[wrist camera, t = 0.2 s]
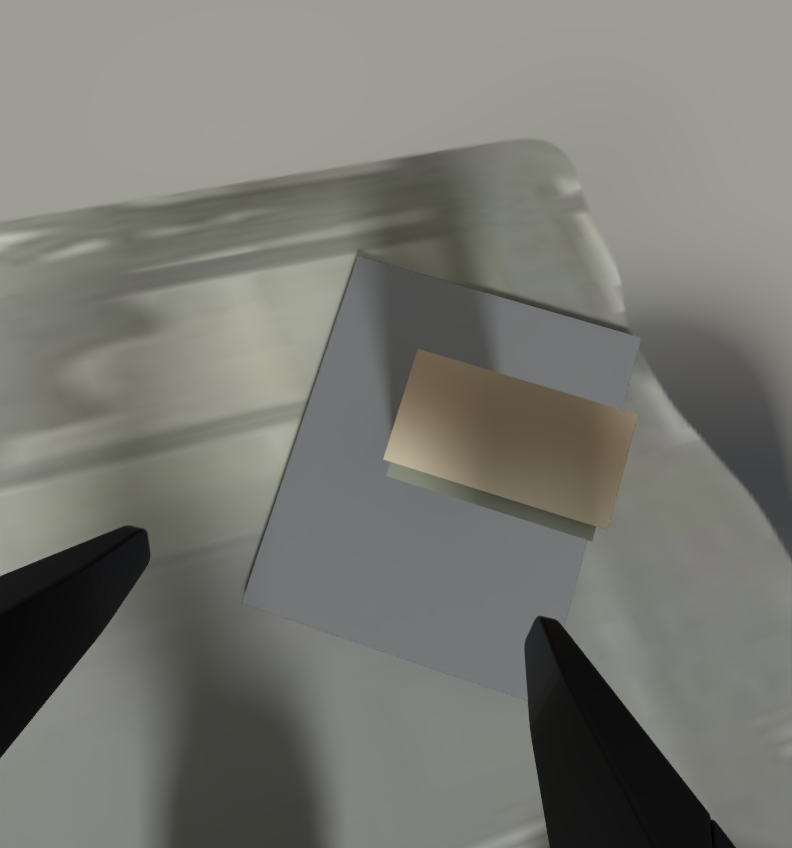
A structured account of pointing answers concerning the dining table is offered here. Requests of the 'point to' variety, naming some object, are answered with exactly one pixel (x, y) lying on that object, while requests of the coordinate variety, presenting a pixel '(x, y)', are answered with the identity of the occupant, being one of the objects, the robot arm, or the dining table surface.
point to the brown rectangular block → (510, 445)
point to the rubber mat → (418, 507)
